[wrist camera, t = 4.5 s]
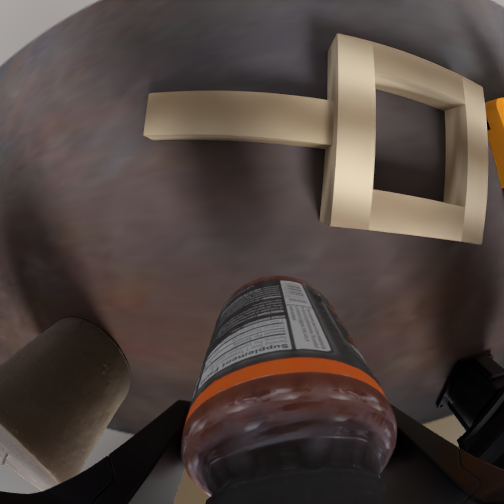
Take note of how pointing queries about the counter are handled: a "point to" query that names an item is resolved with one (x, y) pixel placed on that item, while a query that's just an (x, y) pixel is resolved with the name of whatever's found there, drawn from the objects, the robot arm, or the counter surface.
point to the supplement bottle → (286, 405)
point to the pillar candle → (59, 400)
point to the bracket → (496, 133)
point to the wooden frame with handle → (354, 136)
